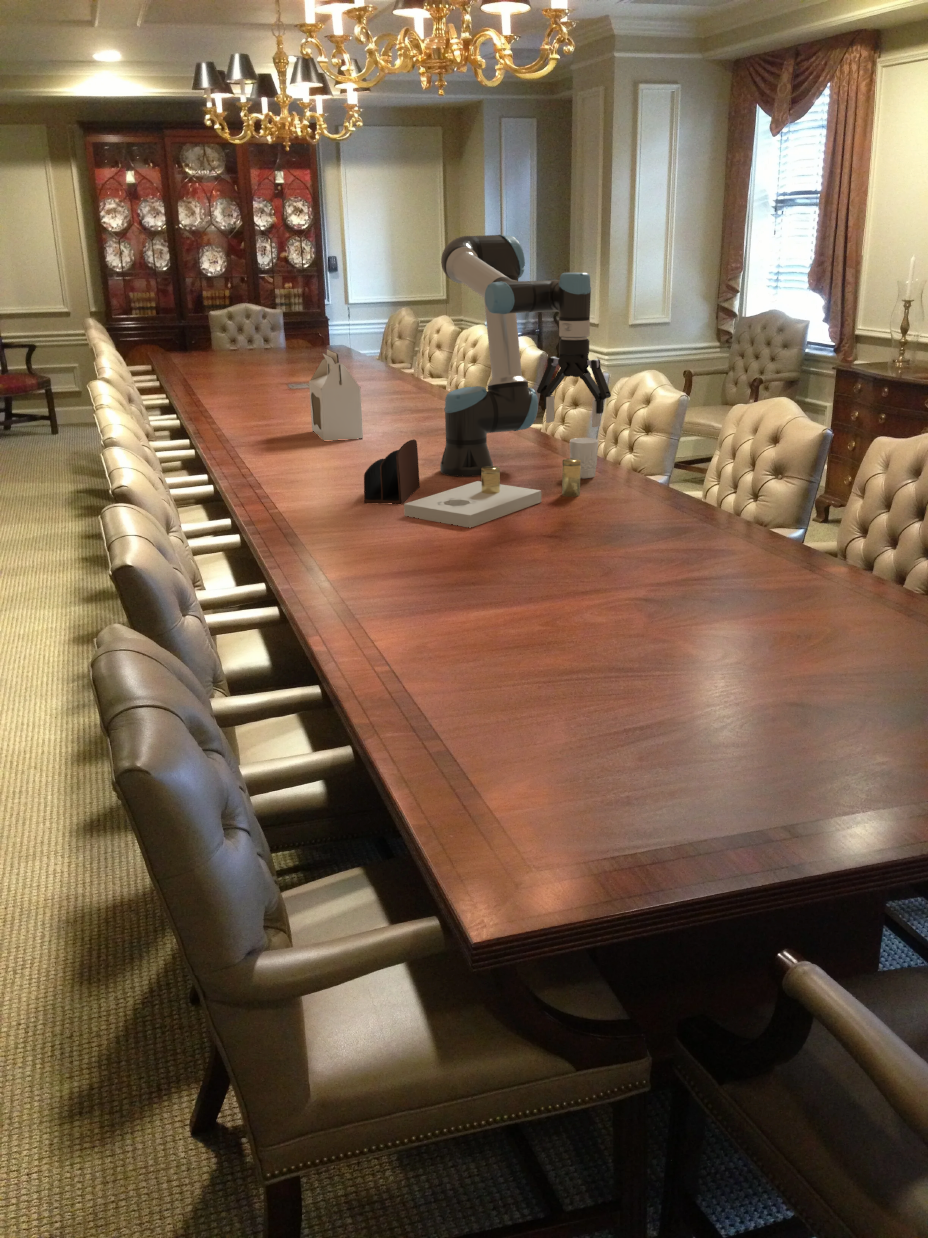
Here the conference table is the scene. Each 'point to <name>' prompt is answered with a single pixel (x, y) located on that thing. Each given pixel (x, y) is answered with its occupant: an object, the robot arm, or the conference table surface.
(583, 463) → the white cup
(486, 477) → the cylinder
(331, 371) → the gable box
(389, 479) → the letter holder
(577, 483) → the loose bushing
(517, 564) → the conference table surface
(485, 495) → the jig plate
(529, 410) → the robot arm
